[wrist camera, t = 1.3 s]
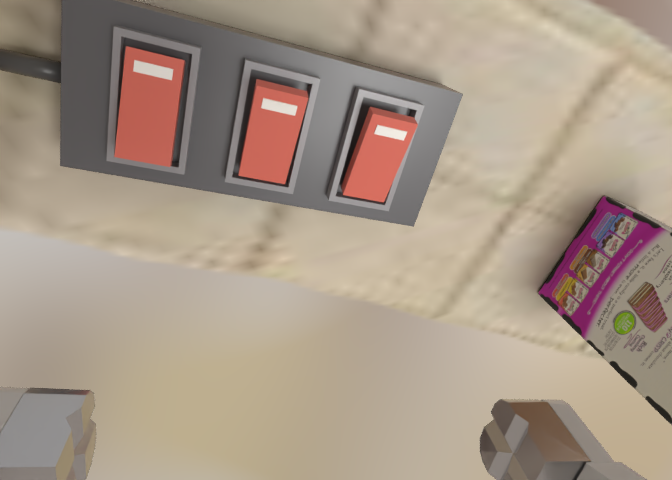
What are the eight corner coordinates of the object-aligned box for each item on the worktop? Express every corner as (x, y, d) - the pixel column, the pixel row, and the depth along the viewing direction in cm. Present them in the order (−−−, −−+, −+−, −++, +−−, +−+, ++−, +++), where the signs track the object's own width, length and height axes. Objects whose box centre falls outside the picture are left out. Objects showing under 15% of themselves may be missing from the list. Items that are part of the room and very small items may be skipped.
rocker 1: (117, 155, 27) (114, 157, 26) (129, 47, 26) (125, 45, 25) (171, 164, 28) (169, 167, 27) (185, 61, 27) (184, 60, 25)
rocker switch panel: (9, 136, 30) (-23, 157, 26) (2, -36, 26) (-38, -39, 22) (399, 207, 38) (417, 231, 34) (442, 84, 34) (468, 96, 30)
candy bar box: (572, 303, 47) (716, 439, 33) (535, 292, 45) (669, 430, 31) (642, 208, 43) (841, 316, 29) (603, 192, 41) (795, 299, 27)
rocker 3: (341, 186, 32) (343, 195, 31) (370, 106, 28) (373, 114, 28) (380, 194, 33) (384, 203, 32) (414, 117, 29) (418, 125, 28)
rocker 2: (239, 167, 30) (238, 176, 29) (256, 78, 26) (256, 86, 26) (284, 176, 31) (285, 185, 30) (307, 91, 27) (308, 98, 26)
